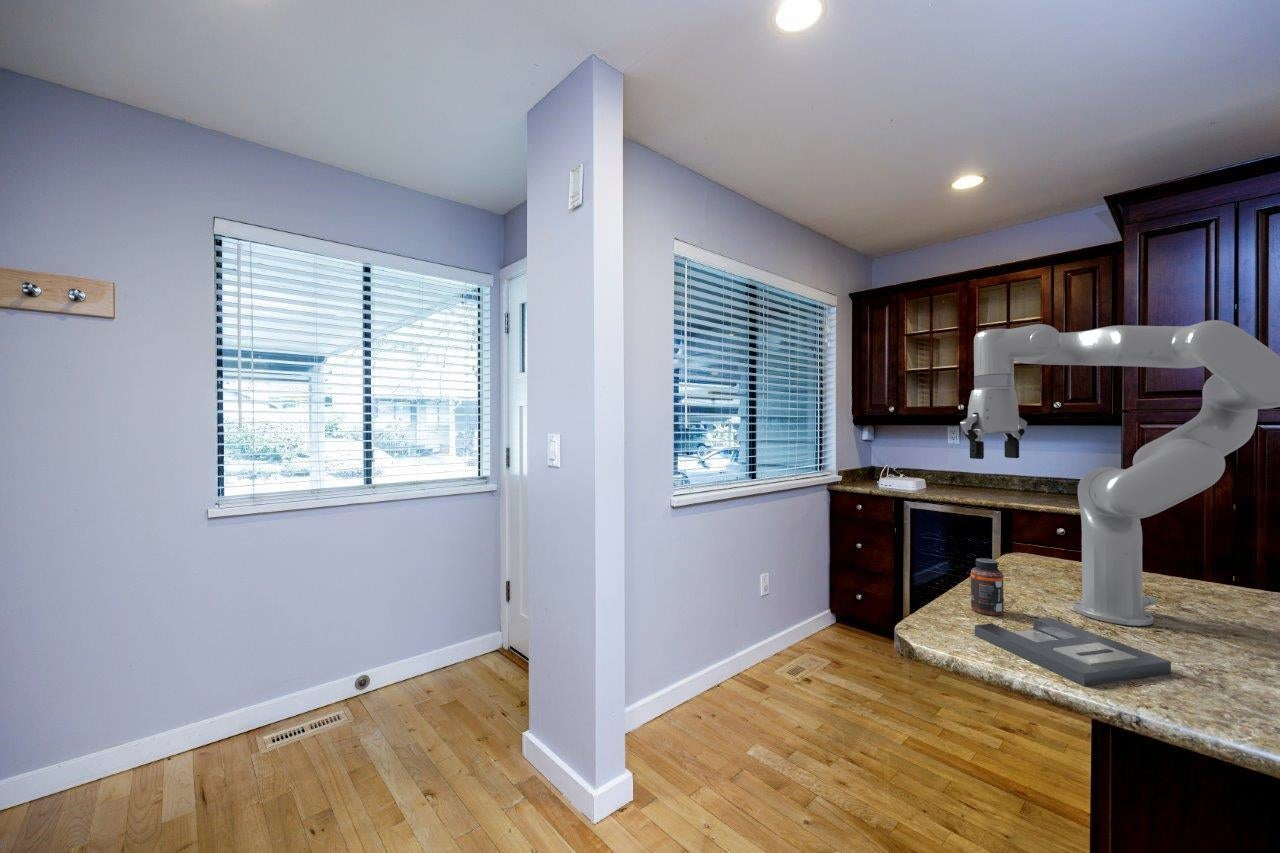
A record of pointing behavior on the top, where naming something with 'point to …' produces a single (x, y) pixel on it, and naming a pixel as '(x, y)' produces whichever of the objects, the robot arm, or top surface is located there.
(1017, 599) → the top surface
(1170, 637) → the top surface
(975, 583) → the supplement bottle
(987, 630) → the plate
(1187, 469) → the robot arm
